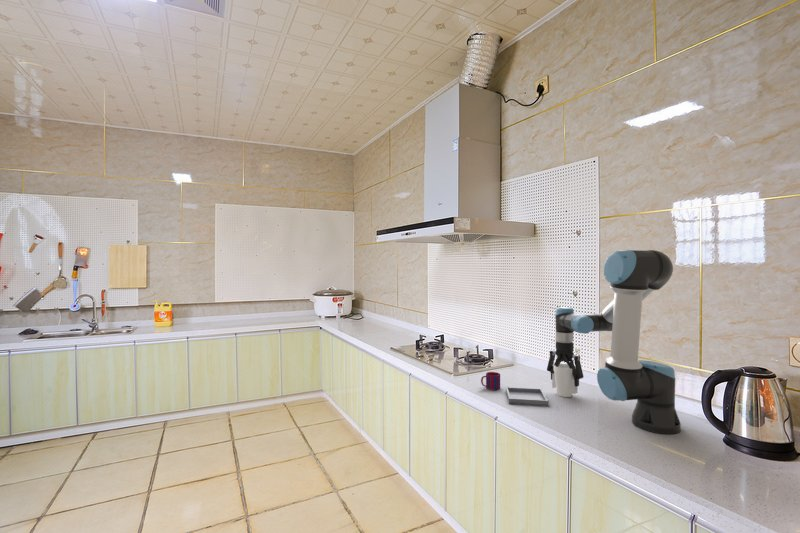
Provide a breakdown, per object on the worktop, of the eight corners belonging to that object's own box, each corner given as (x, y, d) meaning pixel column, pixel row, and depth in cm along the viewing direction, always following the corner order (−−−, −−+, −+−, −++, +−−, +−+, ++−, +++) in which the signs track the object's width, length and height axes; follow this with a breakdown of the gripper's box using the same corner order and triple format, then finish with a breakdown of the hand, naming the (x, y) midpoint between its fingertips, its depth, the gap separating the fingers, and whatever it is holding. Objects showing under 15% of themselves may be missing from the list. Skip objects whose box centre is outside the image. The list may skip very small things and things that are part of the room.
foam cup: (569, 399, 171) (569, 370, 171) (549, 394, 178) (549, 366, 178) (579, 395, 177) (579, 366, 177) (560, 390, 184) (560, 362, 184)
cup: (502, 389, 186) (502, 375, 186) (484, 391, 183) (484, 376, 183) (495, 385, 192) (495, 371, 192) (477, 387, 189) (477, 373, 189)
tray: (548, 406, 164) (548, 400, 164) (509, 403, 167) (509, 398, 167) (541, 393, 180) (541, 388, 179) (505, 391, 182) (505, 386, 182)
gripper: (592, 344, 171) (592, 395, 171) (548, 336, 189) (548, 382, 189) (583, 346, 166) (583, 398, 166) (538, 338, 184) (538, 385, 185)
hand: (564, 390), depth 178 cm, fingers closed on foam cup, 9 cm apart
